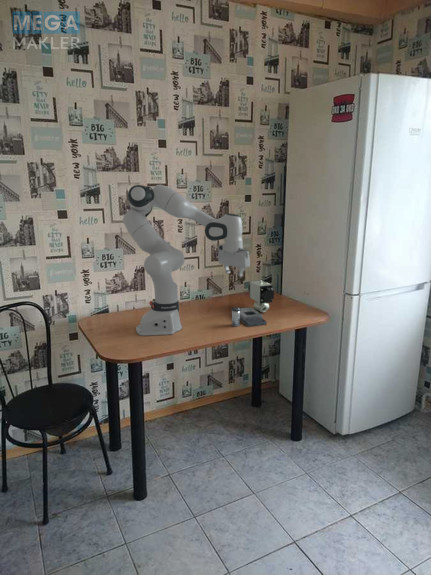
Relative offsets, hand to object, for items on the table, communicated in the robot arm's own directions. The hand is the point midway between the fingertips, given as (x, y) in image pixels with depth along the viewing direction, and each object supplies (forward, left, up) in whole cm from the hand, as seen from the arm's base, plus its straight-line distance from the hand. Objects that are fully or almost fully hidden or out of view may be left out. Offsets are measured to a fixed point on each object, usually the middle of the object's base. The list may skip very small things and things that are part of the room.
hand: (234, 274), depth 206 cm
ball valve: (+22, +17, -26) cm, 38 cm away
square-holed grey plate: (+10, +4, -26) cm, 28 cm away
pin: (0, -2, -26) cm, 26 cm away
